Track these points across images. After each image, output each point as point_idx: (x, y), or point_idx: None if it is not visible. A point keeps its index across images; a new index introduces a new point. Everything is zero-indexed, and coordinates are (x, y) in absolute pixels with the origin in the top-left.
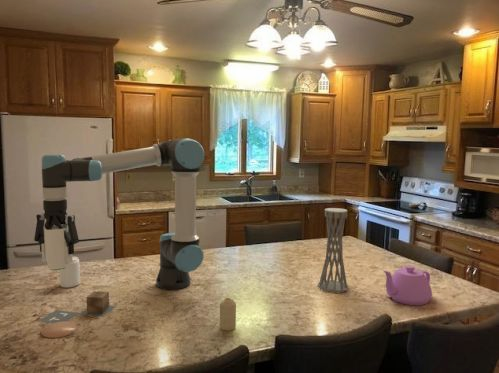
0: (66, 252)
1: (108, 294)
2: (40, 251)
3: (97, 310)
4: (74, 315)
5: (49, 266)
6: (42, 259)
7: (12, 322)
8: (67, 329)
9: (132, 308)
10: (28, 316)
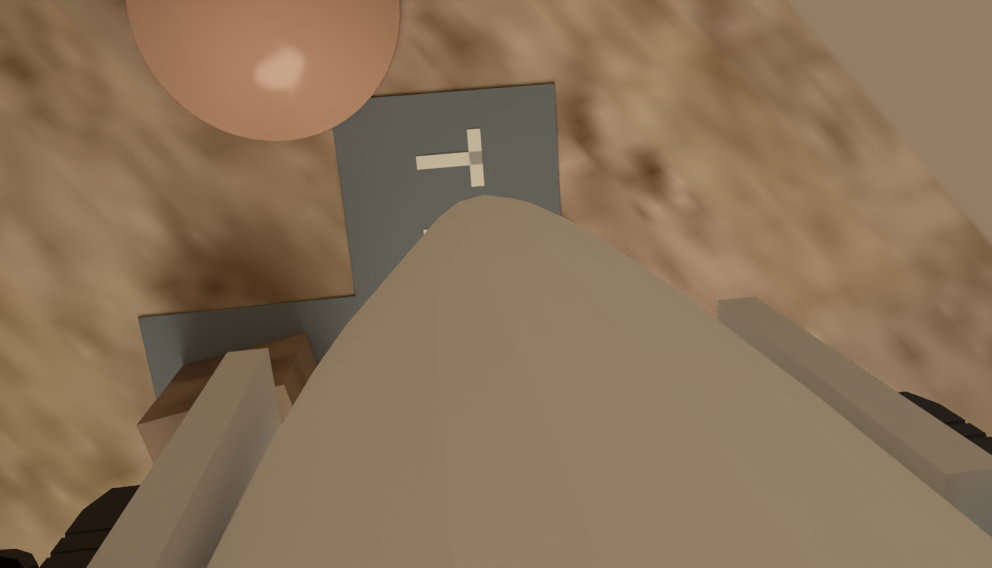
0: (177, 466)
1: None
2: (915, 395)
3: (218, 362)
4: (361, 263)
5: (504, 198)
6: (766, 314)
7: (718, 7)
8: (192, 11)
9: (43, 513)
10: (681, 136)
